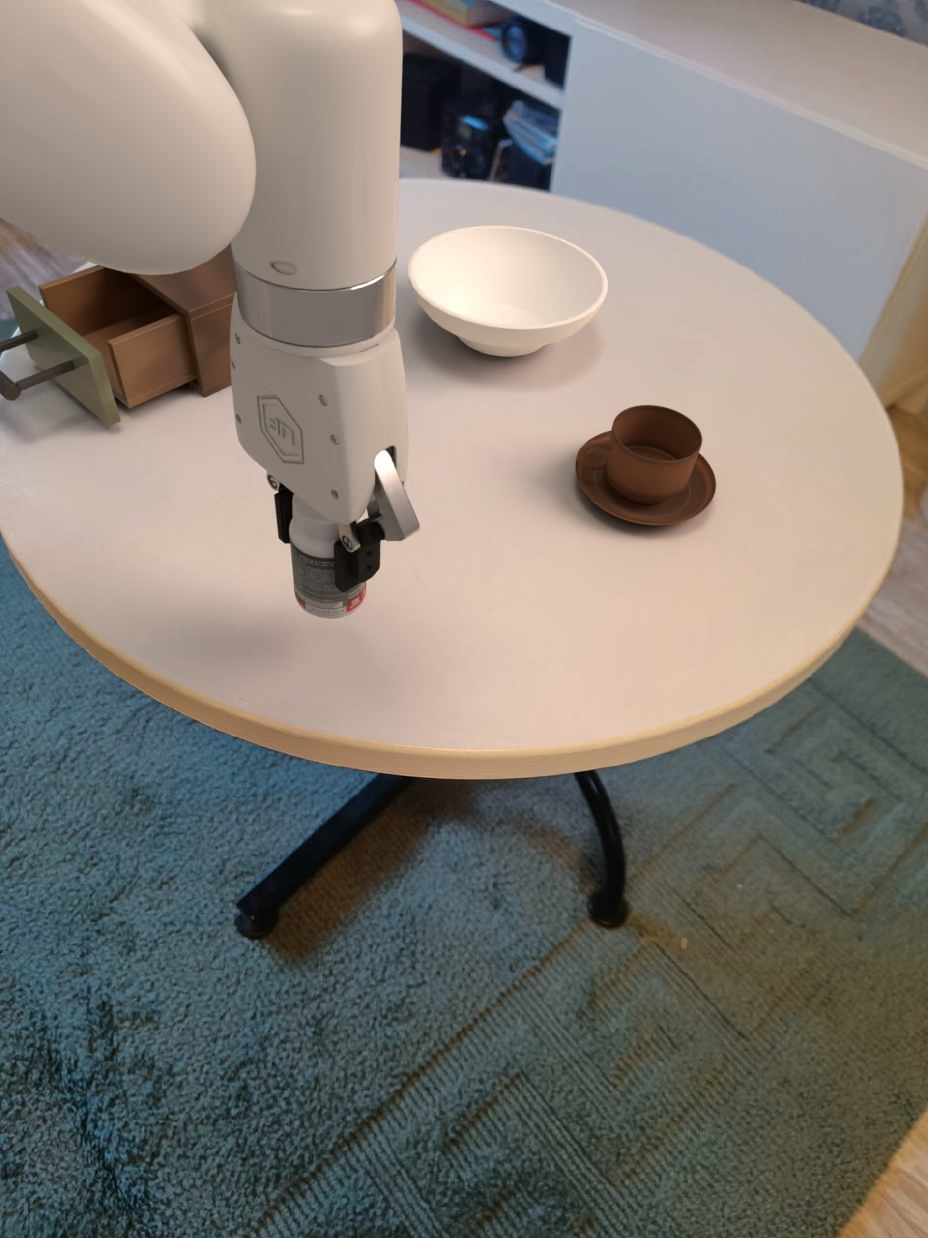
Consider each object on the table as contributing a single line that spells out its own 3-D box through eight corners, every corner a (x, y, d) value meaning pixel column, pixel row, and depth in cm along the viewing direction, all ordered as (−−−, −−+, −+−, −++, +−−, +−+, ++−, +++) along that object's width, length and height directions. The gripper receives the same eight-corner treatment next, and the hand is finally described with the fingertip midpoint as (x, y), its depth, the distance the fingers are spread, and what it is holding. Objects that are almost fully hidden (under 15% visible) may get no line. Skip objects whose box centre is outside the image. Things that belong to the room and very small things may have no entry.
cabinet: (204, 397, 79) (188, 311, 73) (117, 329, 85) (95, 244, 79) (336, 336, 87) (332, 254, 80) (247, 278, 93) (237, 196, 86)
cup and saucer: (616, 553, 70) (633, 496, 65) (547, 462, 77) (557, 404, 72) (737, 517, 74) (761, 461, 69) (661, 433, 80) (678, 376, 76)
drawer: (40, 457, 71) (13, 387, 66) (-37, 383, 77) (-68, 313, 72) (247, 364, 81) (238, 297, 76) (166, 304, 87) (152, 238, 82)
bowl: (629, 332, 91) (644, 270, 86) (528, 418, 80) (537, 354, 75) (478, 267, 98) (483, 206, 93) (366, 339, 87) (365, 275, 82)
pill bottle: (363, 623, 56) (363, 530, 50) (290, 618, 56) (280, 524, 50) (369, 570, 60) (370, 476, 53) (299, 565, 59) (292, 470, 53)
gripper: (147, 239, 43) (200, 512, 57) (377, 400, 36) (374, 666, 50) (270, 200, 47) (292, 465, 61) (499, 339, 40) (465, 602, 54)
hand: (328, 553), depth 55 cm, fingers closed on pill bottle, 4 cm apart
